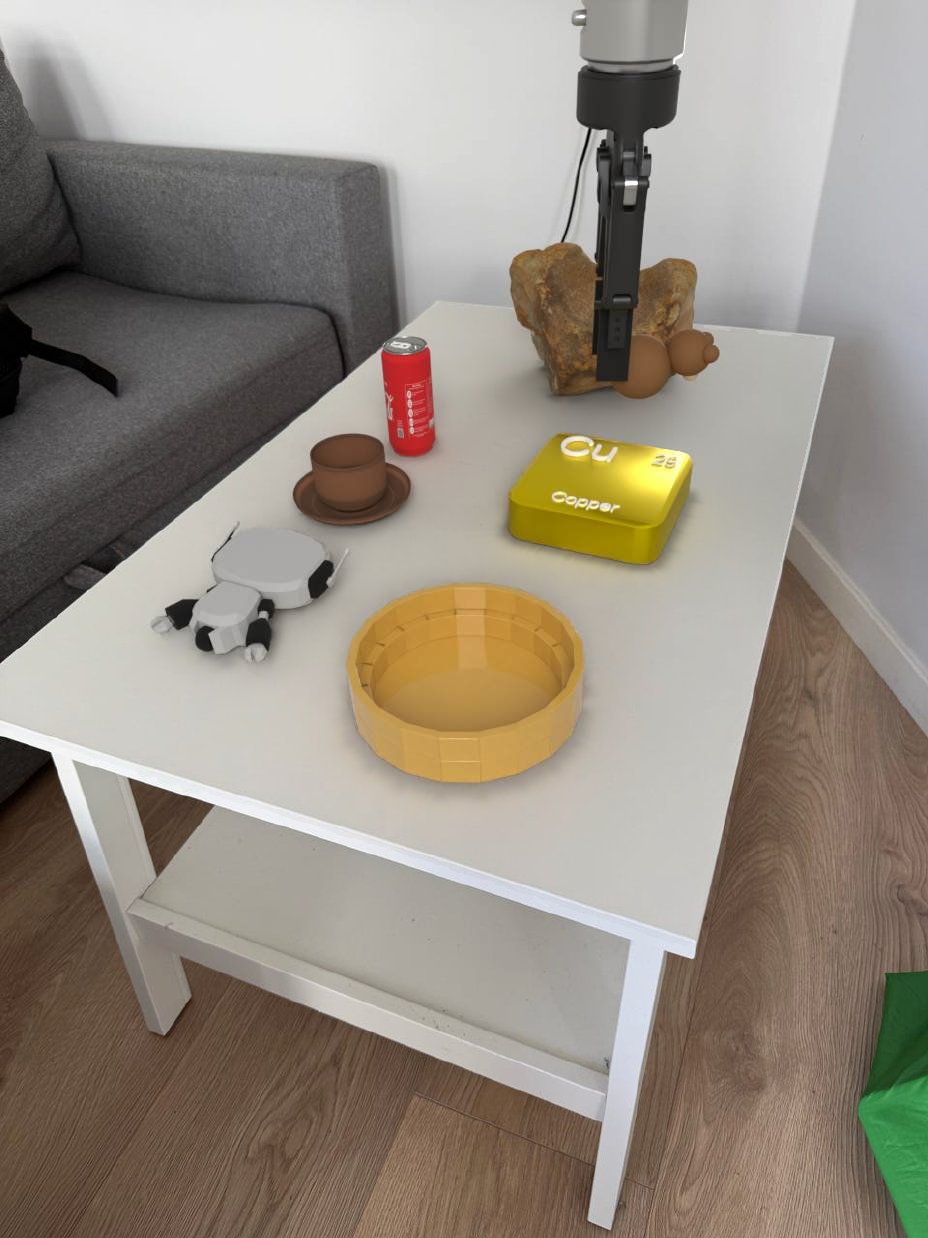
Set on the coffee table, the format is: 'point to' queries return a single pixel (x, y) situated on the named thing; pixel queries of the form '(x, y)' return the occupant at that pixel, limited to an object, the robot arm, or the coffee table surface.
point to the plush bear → (665, 361)
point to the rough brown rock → (590, 309)
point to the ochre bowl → (466, 681)
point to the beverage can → (408, 395)
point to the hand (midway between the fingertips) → (609, 365)
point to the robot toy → (253, 589)
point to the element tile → (600, 497)
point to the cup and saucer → (350, 482)
